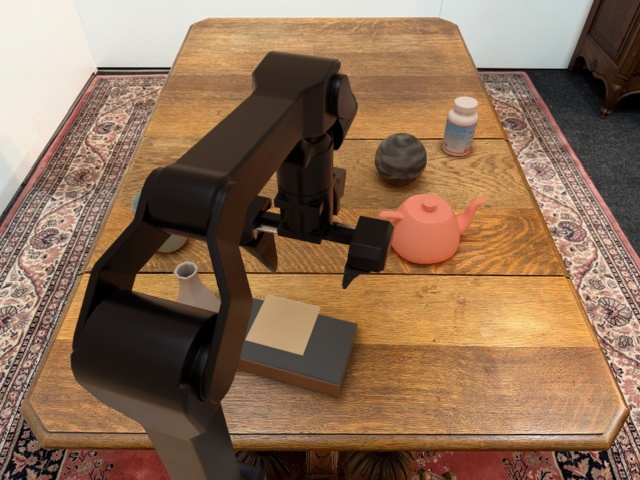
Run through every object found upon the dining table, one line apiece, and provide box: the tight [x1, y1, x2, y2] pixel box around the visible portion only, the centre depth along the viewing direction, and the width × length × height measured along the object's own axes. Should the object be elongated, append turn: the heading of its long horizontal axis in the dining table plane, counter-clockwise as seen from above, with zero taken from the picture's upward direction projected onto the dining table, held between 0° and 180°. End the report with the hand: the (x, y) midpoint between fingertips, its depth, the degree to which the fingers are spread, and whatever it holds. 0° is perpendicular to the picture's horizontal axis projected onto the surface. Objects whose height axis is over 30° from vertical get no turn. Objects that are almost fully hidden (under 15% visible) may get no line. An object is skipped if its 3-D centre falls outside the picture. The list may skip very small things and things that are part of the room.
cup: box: [130, 190, 189, 254], centre depth 79 cm, size 8×8×10 cm
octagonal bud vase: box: [173, 260, 221, 313], centre depth 69 cm, size 7×7×10 cm
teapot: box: [377, 193, 489, 265], centre depth 79 cm, size 12×18×10 cm
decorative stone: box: [374, 132, 428, 186], centre depth 91 cm, size 10×10×10 cm
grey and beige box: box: [237, 293, 358, 398], centre depth 67 cm, size 11×16×3 cm
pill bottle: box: [441, 95, 479, 157], centre depth 98 cm, size 6×6×11 cm
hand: (309, 278), depth 59 cm, fingers open, 9 cm apart
